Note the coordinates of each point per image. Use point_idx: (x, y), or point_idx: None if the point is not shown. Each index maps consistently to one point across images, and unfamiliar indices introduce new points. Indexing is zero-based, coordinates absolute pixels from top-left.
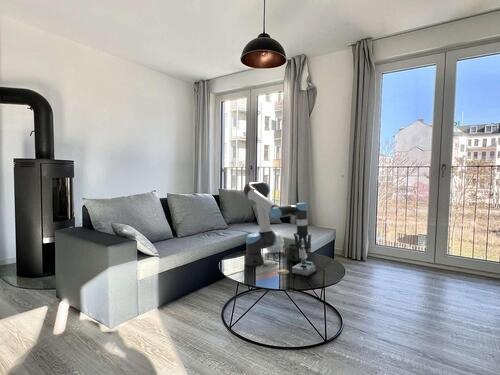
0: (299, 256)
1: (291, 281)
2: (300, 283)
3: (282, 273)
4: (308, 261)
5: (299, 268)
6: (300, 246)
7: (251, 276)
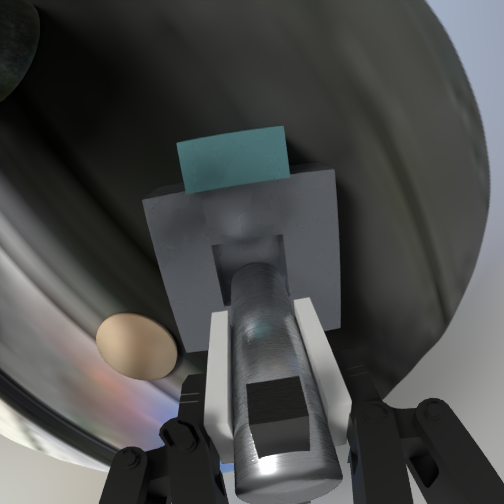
0: (13, 44)
1: None
2: None
3: (161, 376)
4: (219, 139)
5: None
6: (203, 462)
7: (96, 446)
